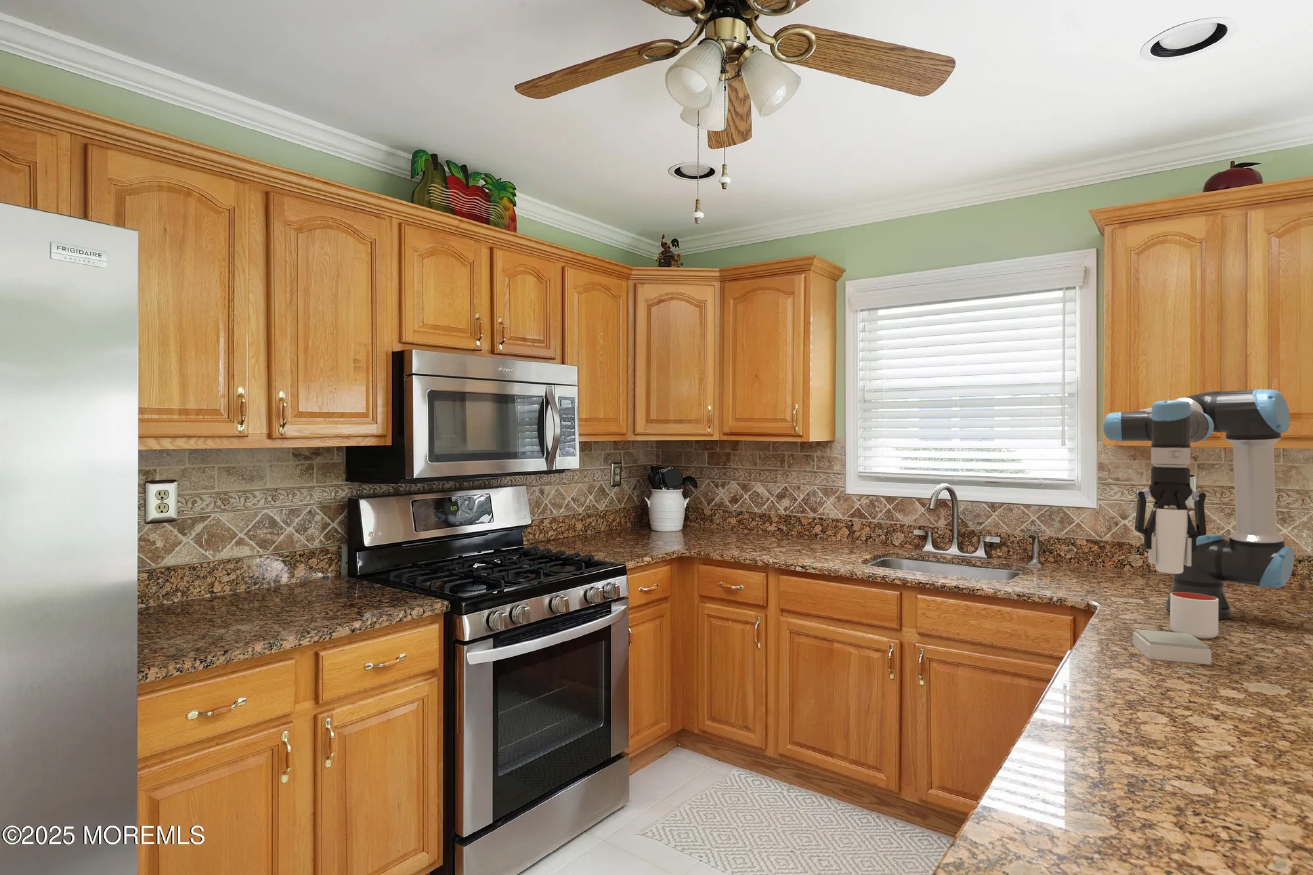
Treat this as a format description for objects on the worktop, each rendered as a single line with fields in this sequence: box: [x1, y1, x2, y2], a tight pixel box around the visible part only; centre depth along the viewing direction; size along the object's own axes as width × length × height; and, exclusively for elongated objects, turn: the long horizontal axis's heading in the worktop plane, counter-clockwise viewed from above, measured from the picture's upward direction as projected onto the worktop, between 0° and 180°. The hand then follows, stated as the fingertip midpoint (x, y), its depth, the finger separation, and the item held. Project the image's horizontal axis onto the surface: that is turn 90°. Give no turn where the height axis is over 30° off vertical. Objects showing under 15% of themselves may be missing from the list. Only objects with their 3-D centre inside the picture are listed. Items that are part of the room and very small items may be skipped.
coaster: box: [1132, 628, 1212, 666], centre depth 167 cm, size 12×12×4 cm
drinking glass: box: [1152, 506, 1188, 575], centre depth 168 cm, size 7×7×15 cm
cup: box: [1169, 592, 1219, 640], centre depth 185 cm, size 10×10×10 cm
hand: (1169, 564), depth 168 cm, fingers closed on drinking glass, 6 cm apart
